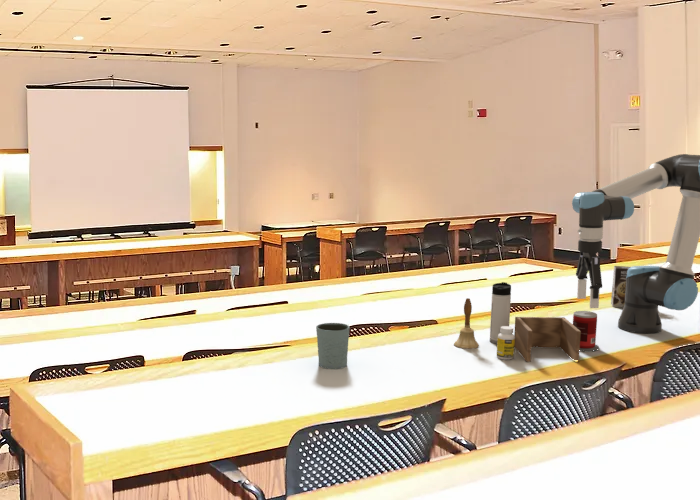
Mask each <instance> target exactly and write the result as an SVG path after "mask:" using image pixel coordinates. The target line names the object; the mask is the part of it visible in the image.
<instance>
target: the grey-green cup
mask: <svg viewBox="0 0 700 500" xmlns="http://www.w3.org/2000/svg"><path fill="white" fill-rule="evenodd" d="M349 337H350V326H349V325H348V324H345V323H341V322H324V323H319V324H318V325H316V338H317V339H316V343H317V355H318V365H319V367H321V368H322V369H326V370H327V369H329V370H339V369H344V368H346V367H347V366H348V350H349V339H350V338H349Z"/></svg>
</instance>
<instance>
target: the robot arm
mask: <svg viewBox="0 0 700 500" xmlns="http://www.w3.org/2000/svg"><path fill="white" fill-rule="evenodd" d="M669 187H675V188H677V187H679V192H680V195H682V198H681V203H680V206H679V211H678V213H677V218H676V222H675V226H674V228H673V229H674V230H673V234H672V238H671V241H670V244H669V245H670V246H669V249H668V252H667V253H668V254H667V256H666V260H665V262H664V263H663V264H662V265H660V266H659V265H637V266H636V265H633V266H629V267H630V268H629V269H628V270H627V277H626V289H625V305H624V308H623V307H622V311H621V314H620V316H619V317H618V322H617V327H618V328H619V329H621V330H624V331H627V332H631V333H638V334H639V333H640V334H655V333H657V334H658V333H660V332H662V328H663V324H662V320H661V315H660V311H659V307H663V308H665V309H668V310H674V311H683V310H687V309H688V308H689V307H691V306H692V305H694V304H695V303H694V302H695V301H696V299H697V297H698V294H699V288H698V284H697V282H696V280H694V278H695V275H696V274H695V273H694V271H693V269H692V268H693V263H694V259H695V255H696V252H697V247H698V245H699V240H700V155H699V154H687V153H685V154H684V153H683V154H675V155H671V156H669V157H666V158H664V159H661V160H659V161H655V162H654V163H651V164H649V166H648V167H647V168H646V169H644V170H641V171H638V172H636V173H634V174H631V175H630V176H627V177H624V178H622V179H620V180H617V181H614V182H612V183H610V184H607V185H605V186H602V187H600V188H597V189H594V190H593V191H580V192H578V193H576V194H575V195H574V196H573V198H572V201H571V204H572V206H571V207H572V209H573V210H574V212H575V213H577V214H578V215H579V219H578V229H577V230H576V231H577V233H578V242H577V245H578V246H577V249H578V250H577V251H578V252H579V258H578V263H577V266H576V271H575V276H576V277H577V292H576V293H577V295H576V296H577V298H576V299H578V300H579V299H586V298H587V279H588V276H589V280H590V286H589V289H590V291H589V293H590V294H589V309H599V307H600V289H603V282H602V281H603V280H602V270H601V257H597V254H598V253H601V252H602V250H603V241H602V239H603V237H604V236H603V235H604V222H605V221H617V220H620V221H621V220H626V219H629V218H631V217H632V216H633V215H634V212H635V203H634V200H633V199H634V198H636V197H638V196H641V195H644V194H647V193H649V192H652V191H653V190H656V189H657V190H664V189H666V188H669ZM588 274H589V275H588Z"/></svg>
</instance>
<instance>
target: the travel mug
mask: <svg viewBox="0 0 700 500" xmlns="http://www.w3.org/2000/svg"><path fill="white" fill-rule="evenodd" d="M491 292H492V293H491V304H490V305H491V307H490V326H489V327H490V328H489V342H490V343H492V344H496V345H497V341H498V334H500V333H501V332H500V329H501V327H502V326H509V327H510V321H511V320H510V319H511V318H510V315H511V303H512V302H511V296H512V293H511V292H512V285H511V284H509V283H508V282H504V281H502V282H498V283H493V284H492V290H491Z"/></svg>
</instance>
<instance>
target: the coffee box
mask: <svg viewBox="0 0 700 500" xmlns="http://www.w3.org/2000/svg"><path fill="white" fill-rule="evenodd" d="M630 267H631V266H626V265H625V266H624V265H614V266H613V275H612V286H611V287H612V288H611V297H610V298H611V300H610V305H611V306H612V307H613V308H622V309H623V308H624V305H625V289H626V277H627V270H628V269H629V268H630Z"/></svg>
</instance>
